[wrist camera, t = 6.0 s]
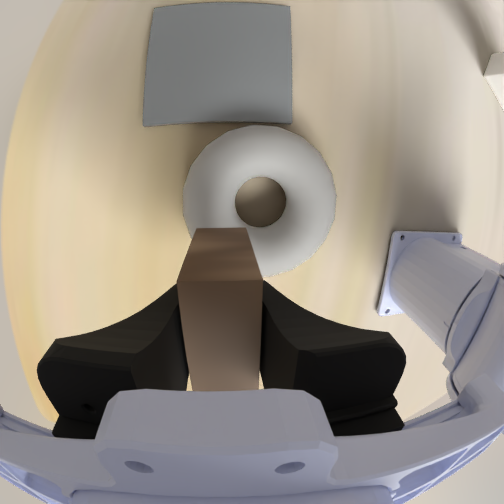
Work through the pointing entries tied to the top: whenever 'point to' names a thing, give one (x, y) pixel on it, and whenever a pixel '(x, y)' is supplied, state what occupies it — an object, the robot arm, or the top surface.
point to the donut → (274, 167)
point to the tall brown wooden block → (221, 310)
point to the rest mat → (219, 64)
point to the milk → (496, 76)
